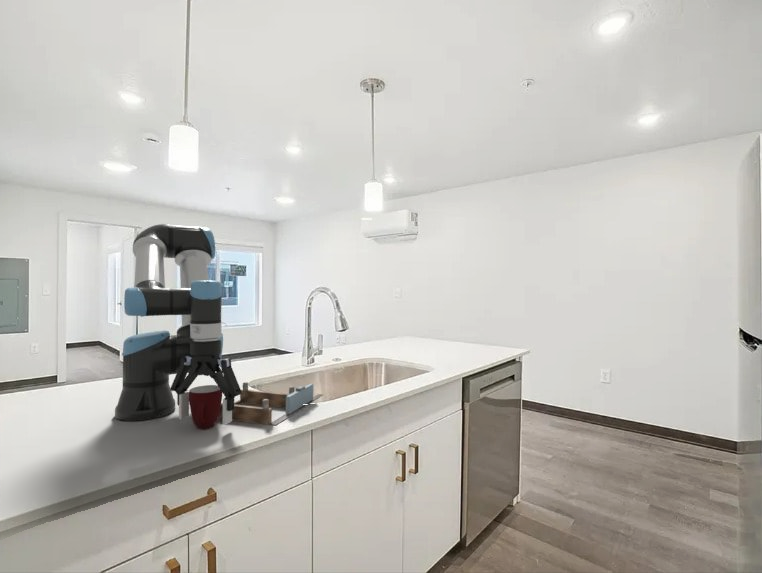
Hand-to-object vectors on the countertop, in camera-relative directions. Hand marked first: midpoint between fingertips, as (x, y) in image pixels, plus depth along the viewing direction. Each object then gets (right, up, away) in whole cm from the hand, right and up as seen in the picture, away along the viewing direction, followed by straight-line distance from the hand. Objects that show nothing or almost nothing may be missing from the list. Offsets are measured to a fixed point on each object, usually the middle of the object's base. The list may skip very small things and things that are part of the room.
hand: (205, 420), depth 102 cm
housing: (+12, -2, +20) cm, 23 cm away
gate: (+21, -2, +18) cm, 28 cm away
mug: (0, -2, 0) cm, 2 cm away
